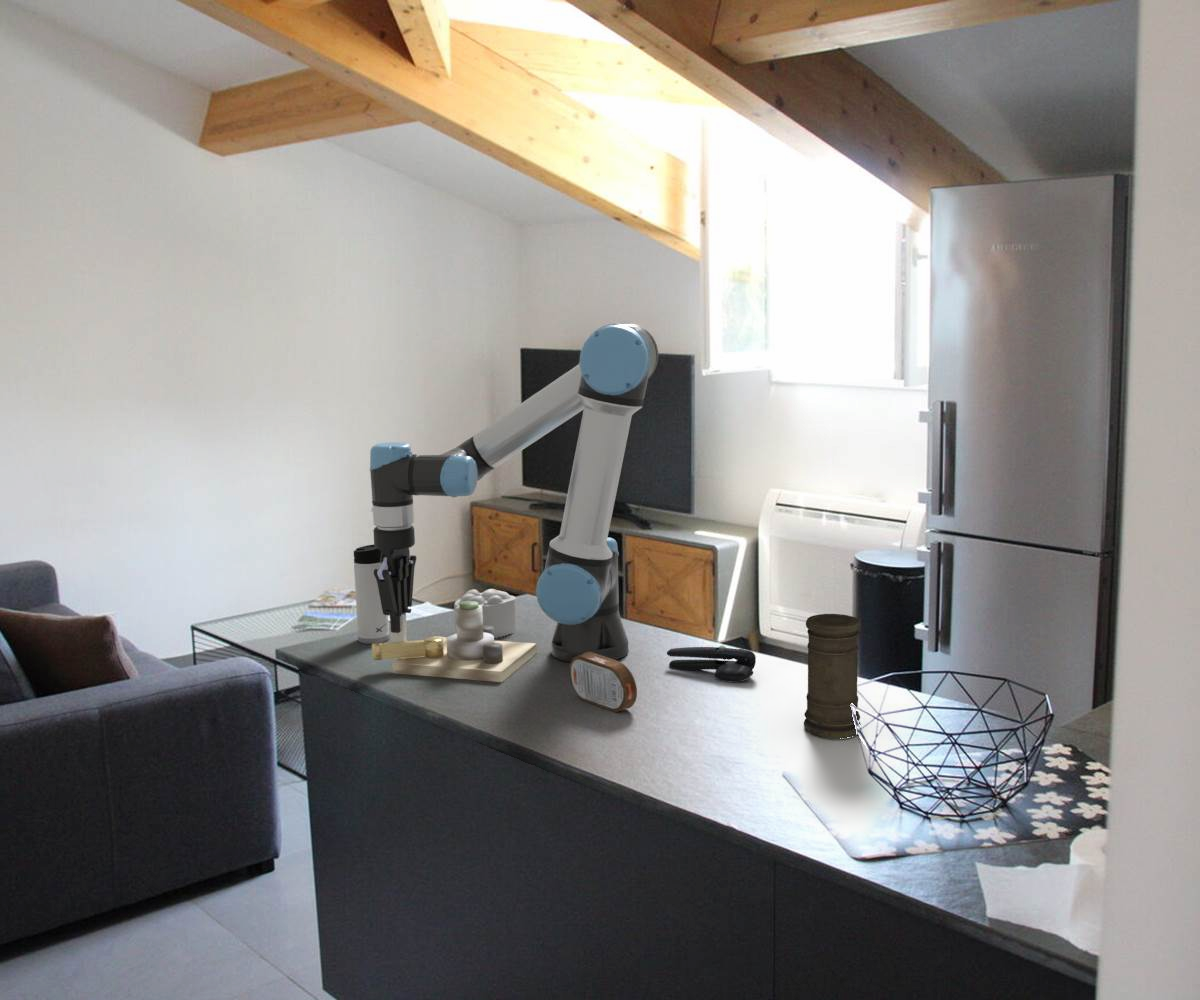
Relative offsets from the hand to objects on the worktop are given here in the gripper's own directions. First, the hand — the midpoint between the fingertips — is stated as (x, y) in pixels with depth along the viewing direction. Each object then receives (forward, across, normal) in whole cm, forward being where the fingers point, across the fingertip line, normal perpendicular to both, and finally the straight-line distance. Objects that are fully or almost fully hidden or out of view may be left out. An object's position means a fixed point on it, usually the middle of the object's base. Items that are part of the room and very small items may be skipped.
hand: (399, 647), depth 221 cm
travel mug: (+4, -15, -13) cm, 20 cm away
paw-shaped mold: (+4, -25, +7) cm, 26 cm away
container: (+3, +13, +83) cm, 84 cm away
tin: (+3, +11, +44) cm, 45 cm away
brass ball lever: (+1, +1, +2) cm, 3 cm away
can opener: (+4, -10, +58) cm, 59 cm away
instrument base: (+4, -5, +12) cm, 13 cm away
